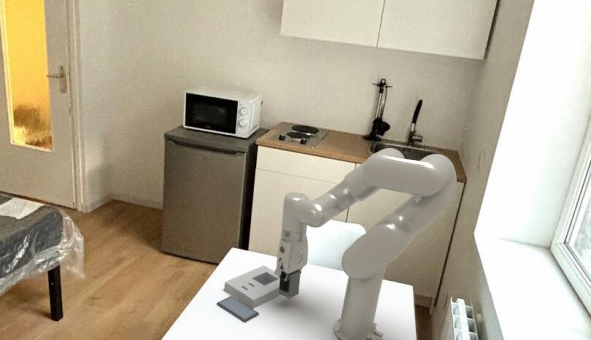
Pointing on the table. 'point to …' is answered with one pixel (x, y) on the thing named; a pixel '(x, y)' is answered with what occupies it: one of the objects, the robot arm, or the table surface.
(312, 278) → the table surface
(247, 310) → the phone
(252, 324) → the table surface
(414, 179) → the robot arm
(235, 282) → the outlet plate
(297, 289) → the block
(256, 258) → the table surface
